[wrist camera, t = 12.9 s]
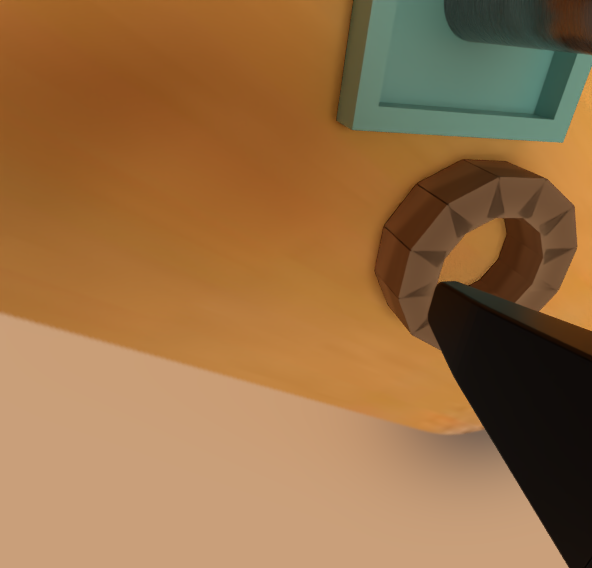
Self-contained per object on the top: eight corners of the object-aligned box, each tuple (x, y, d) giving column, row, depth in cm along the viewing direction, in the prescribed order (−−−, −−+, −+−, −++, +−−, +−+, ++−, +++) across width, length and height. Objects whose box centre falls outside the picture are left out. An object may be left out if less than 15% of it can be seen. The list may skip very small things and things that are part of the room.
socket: (363, 325, 28) (383, 356, 25) (398, 156, 23) (428, 174, 20) (503, 316, 30) (535, 343, 28) (562, 163, 26) (606, 180, 23)
